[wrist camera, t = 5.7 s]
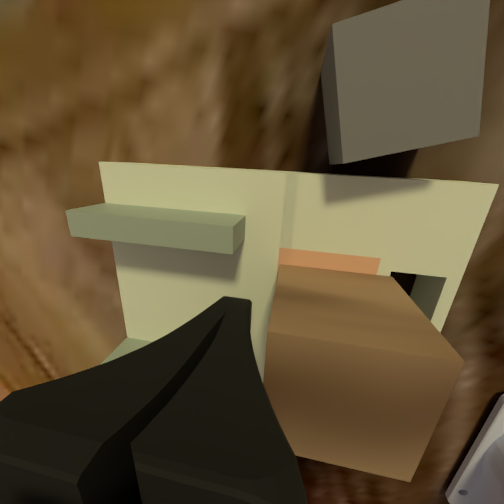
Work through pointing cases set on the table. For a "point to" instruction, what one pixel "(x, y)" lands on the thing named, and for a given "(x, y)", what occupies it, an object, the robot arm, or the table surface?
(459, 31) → the charcoal block
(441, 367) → the walnut block
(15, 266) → the table surface
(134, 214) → the board
